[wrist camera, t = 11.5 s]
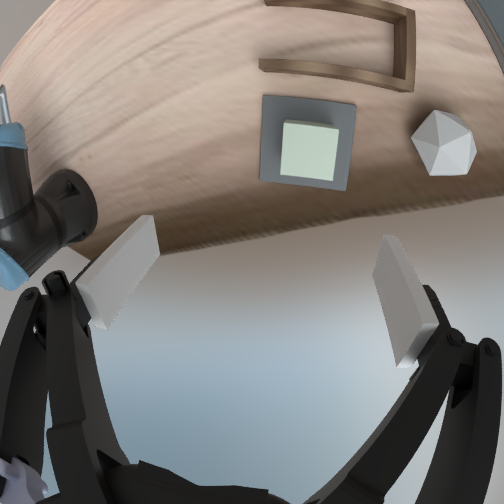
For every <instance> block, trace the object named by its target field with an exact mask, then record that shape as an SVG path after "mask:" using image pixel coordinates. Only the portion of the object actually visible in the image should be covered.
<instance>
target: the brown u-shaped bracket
mask: <svg viewBox="0 0 504 504" xmlns="http://www.w3.org/2000/svg"><path fill="white" fill-rule="evenodd" d="M264 1H265V3H266V5H267V6H287V7H303V8H313V9H322V10H330V11H337V12H343V13H349V14H354V15H359V16H364V17H368V18H373V19H377V20H381V21H385V22H388V23H392V24H394V69H393V77H392V76H388V75H384V74H379V73H375V72H371V71H366V70H361V69H356V68H351V67H345V66H339V65H332V64H325V63H317V62H308V61H298V60H283V59H259V69H261V70H262V71H264V72H275V73H291V74H303V75H312V76H321V77H328V78H335V79H341V80H347V81H353V82H358V83H363V84H368V85H373V86H377V87H382V88H386V89H390V90H394V91H398V92H414V84H415V66H416V19H415V11H414V10H411V9H408V8H405V7H402V6H399V5H395V4H392V3H388V2H385V1H381V0H264Z"/></svg>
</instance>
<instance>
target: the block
mask: <svg viewBox="0 0 504 504" xmlns="http://www.w3.org/2000/svg"><path fill="white" fill-rule="evenodd" d="M338 135H339V129H338V128H337V127H335V126H334V125H333V124H326V123H318V122H310V121H302V120H292V119H286V121H285V122H284V127H283V142H282V157H281V171H280V175H290V176H299V177H307V178H315V179H322V180H329V181H333V175H334V167H335V160H336V152H337V144H338Z"/></svg>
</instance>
